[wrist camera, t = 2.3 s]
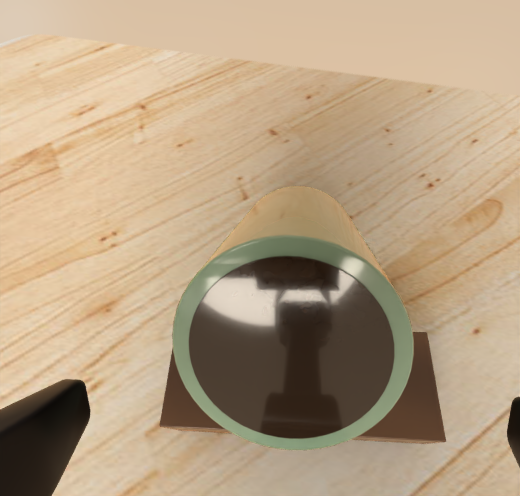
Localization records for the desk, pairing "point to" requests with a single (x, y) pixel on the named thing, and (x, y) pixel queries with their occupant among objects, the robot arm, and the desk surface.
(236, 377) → the cup
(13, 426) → the robot arm
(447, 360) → the desk surface
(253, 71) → the desk surface
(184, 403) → the prop block
